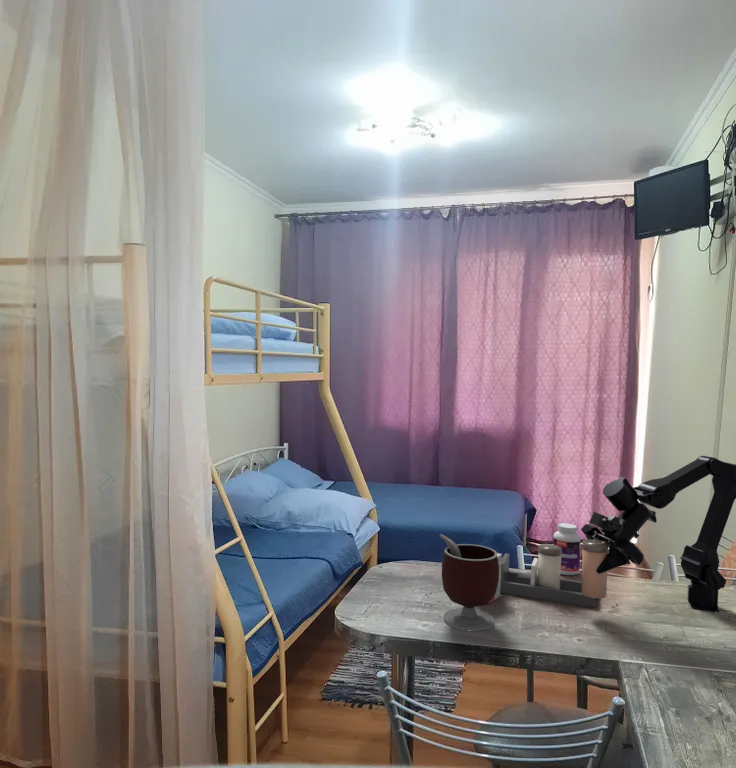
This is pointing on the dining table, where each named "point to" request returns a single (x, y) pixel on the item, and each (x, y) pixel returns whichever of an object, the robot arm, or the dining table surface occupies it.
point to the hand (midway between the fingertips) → (589, 568)
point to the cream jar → (549, 566)
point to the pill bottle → (568, 548)
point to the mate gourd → (469, 583)
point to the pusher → (530, 573)
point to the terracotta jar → (593, 568)
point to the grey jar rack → (542, 588)
